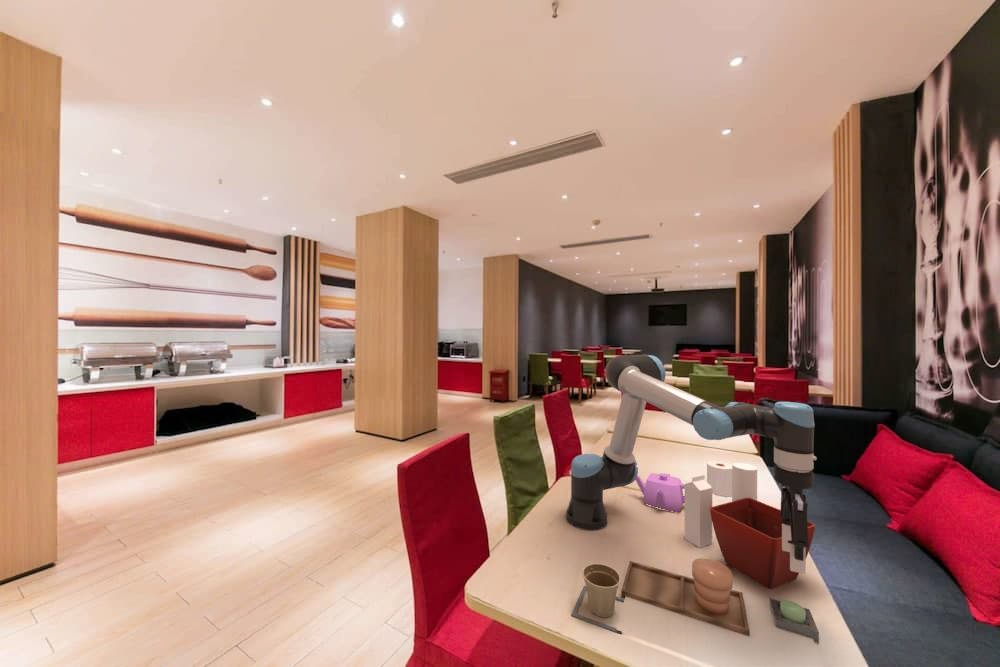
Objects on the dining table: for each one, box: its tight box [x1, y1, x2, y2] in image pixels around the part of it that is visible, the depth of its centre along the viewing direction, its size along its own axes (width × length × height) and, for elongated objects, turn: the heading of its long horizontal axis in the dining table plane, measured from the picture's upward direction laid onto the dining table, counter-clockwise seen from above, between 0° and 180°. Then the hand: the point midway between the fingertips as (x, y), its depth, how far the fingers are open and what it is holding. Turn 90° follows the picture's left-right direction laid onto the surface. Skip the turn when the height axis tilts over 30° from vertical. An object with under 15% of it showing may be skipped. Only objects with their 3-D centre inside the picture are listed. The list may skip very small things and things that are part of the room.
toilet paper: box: [706, 460, 732, 497], centre depth 165 cm, size 10×10×12 cm
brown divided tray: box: [620, 560, 751, 637], centre depth 98 cm, size 28×15×2 cm, turn 62°
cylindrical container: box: [731, 462, 758, 502], centre depth 126 cm, size 7×7×25 cm
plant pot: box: [710, 498, 816, 590], centre depth 109 cm, size 19×19×17 cm
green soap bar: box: [779, 599, 807, 625], centre depth 89 cm, size 5×5×3 cm
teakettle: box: [635, 472, 686, 513], centre depth 152 cm, size 17×17×12 cm
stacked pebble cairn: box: [691, 558, 734, 615], centre depth 94 cm, size 9×9×9 cm
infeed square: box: [570, 585, 626, 635], centre depth 94 cm, size 12×12×1 cm
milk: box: [683, 474, 713, 548], centre depth 125 cm, size 6×6×22 cm
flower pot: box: [581, 563, 622, 618], centre depth 94 cm, size 9×9×9 cm
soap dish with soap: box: [769, 597, 820, 644], centre depth 89 cm, size 8×8×2 cm
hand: (793, 560), depth 89 cm, fingers open, 8 cm apart
